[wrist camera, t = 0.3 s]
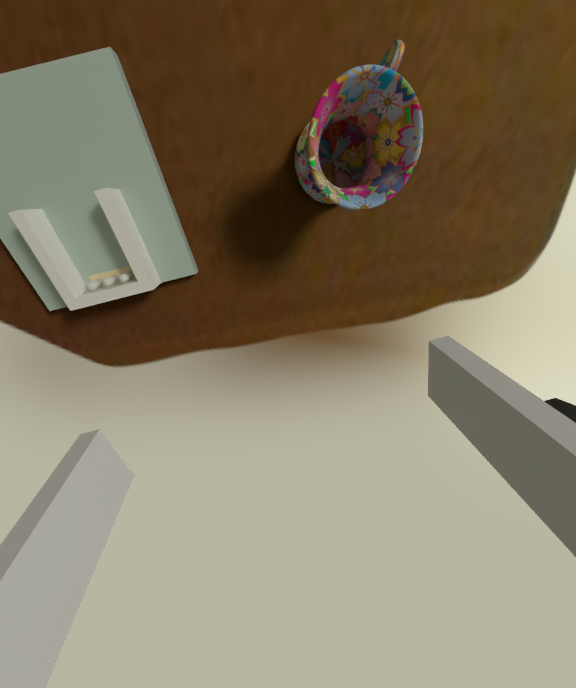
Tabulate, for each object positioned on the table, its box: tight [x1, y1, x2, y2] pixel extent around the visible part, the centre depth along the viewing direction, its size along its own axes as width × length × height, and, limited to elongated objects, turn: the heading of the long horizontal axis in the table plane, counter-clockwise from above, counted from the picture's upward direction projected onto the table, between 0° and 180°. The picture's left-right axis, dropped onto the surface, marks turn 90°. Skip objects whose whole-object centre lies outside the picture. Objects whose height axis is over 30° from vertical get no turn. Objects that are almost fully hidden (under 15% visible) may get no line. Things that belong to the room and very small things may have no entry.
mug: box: [295, 40, 423, 210], centre depth 26 cm, size 12×9×11 cm
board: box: [0, 47, 198, 311], centre depth 28 cm, size 20×18×4 cm
